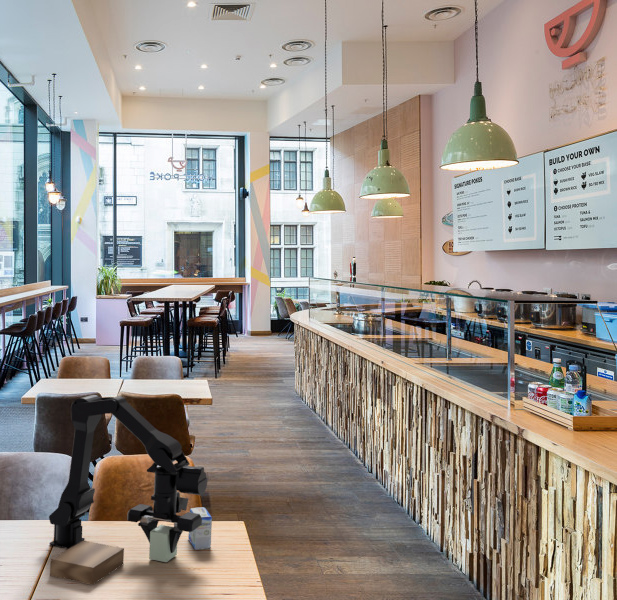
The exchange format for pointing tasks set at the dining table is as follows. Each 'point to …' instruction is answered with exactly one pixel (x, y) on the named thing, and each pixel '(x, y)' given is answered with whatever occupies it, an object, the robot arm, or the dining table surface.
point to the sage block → (161, 544)
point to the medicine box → (201, 530)
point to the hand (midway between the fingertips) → (163, 550)
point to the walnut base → (86, 562)
